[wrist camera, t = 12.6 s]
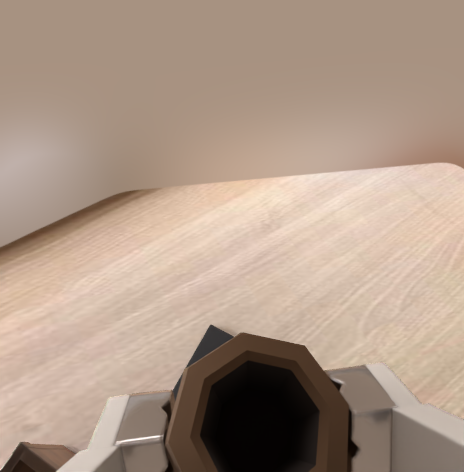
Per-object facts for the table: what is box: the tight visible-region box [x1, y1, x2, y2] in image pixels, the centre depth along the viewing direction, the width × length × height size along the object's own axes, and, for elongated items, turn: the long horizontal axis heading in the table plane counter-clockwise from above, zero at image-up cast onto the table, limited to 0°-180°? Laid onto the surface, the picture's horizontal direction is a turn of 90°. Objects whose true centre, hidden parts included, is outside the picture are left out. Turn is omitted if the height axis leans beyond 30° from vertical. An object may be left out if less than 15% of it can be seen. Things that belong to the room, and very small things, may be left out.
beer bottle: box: [164, 333, 349, 472], centre depth 16 cm, size 8×8×24 cm
